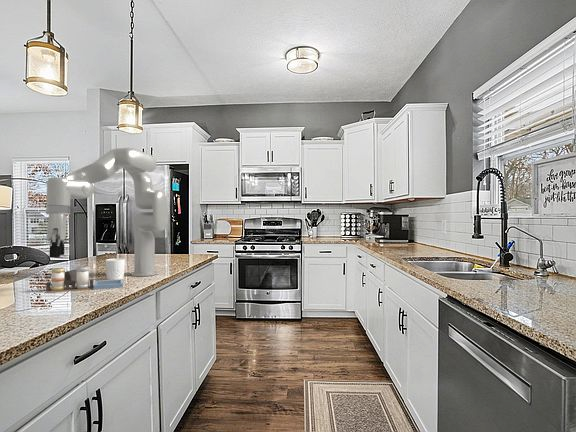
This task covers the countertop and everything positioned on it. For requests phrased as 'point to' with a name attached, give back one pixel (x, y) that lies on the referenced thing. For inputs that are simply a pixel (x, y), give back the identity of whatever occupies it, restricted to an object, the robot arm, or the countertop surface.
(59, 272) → the marked fuse
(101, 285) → the tray
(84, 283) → the grey rounded cylinder
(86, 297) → the countertop surface
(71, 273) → the perforated stone tool
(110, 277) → the white cup
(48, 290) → the fuse holder
